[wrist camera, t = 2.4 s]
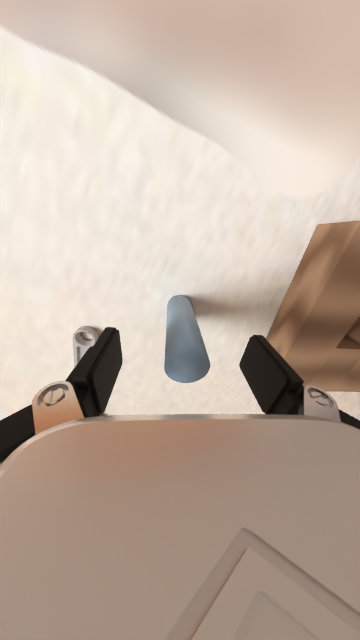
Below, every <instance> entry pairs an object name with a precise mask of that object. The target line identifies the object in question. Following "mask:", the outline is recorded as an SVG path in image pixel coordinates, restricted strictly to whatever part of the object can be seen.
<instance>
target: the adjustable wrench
mask: <svg viewBox="0 0 360 640" xmlns="http://www.w3.org/2000/svg"><path fill="white" fill-rule="evenodd" d="M81 332H87V333H89V334H90V335H91V336H92V337H93V339H92V340H85V339H84V338H83V337H82V336H81V334H80V333H81ZM97 340H98V333H97V331H96V330H95V329H93V328H91V327H88V326H83V327H80V328H79V329H78V330H77V331H76V332H75V333H74V334H73V348H74V368H75V367H76V365H77V364H78V362H79V361H80V360H81V358H82V357H83V355H84V354H85V353H86V351H87V350H88V348H89V347H91V346H94V344H95V343H96V341H97ZM100 416H103V415H101V414H100Z"/></svg>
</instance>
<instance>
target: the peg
mask: <svg viewBox="0 0 360 640" xmlns="http://www.w3.org/2000/svg"><path fill="white" fill-rule="evenodd" d="M209 368H210V361H209V358H208V355H207V352H206V349H205V345H204V342H203V339H202V336H201V333H200V329H199V326H198V323H197V320H196V317H195V313H194V310H193V307H192V304H191V301H190V300H189V299H188V298H187V297H186V296H183V295H177V296H174V297H172V298H171V299H170V300H169V302H168V307H167V328H166V348H165V372H166V374H167V375H168V377H169V378H171V379H172V380H174V381H177V382H181V383H190V382H195V381H197V380H199V379H201V378H203V377H204V376H205V375H206V374H207V373H208V371H209Z"/></svg>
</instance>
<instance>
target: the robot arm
mask: <svg viewBox="0 0 360 640" xmlns="http://www.w3.org/2000/svg"><path fill="white" fill-rule="evenodd" d="M121 365H122V351H121V343H120V335H119V330H116V328H112V327H106V328H105V330H104V331H103V332H102V334H101V335H100V337H99V338H98V340H97V341H96V343H95V344H94V346H91V347H89V348H88V350H87V351H86V353H85V354H84V355H83V357H82V358H81V360H80V361H79V362H78V364H77V365H76V367H75V368H74V369H73V371H72V372H71V374H70V375H69V376H68V378H67V379H66V381H58V382H54V383H51V384H49V385H47V386H45V387H44V388H42V389H41V390H40V391H39V392H38V393H37V394H36V395H35V396H34V398H33V400H32V404H31V405H29V406H28V407H26V408H24V409H22V410H20V411H18V412H16V413H14V414H12V415H10V416H8V417H6V418H4V419H2V420H1V421H0V640H360V421H359V420H358V419H355V418H354V417H352V416H350V415H348V414H347V413H345V412H343V411H341V410H339V409H338V405H337V403H336V401H335V400H334V399H333V398H332V397H331V396H330V395H329V394H328V393H326V392H325V391H324V390H322V389H320V388H318V387H315V386H311V385H309V386H306V387H304V386H303V385H302V384H303V383H304V381H303V380H302V378H301V377H300V376H299V375H298V374H297V373H296V372H295V371H294V370H293V369H292V367H291V366H290V365H289V364H288V363H287V362H286V361H285V360H284V359H283V357H282V356H281V355H280V354H279V353H278V352H277V351H276V350H275V349H274V347H273V346H272V345H271V344H270V343H269V342H268V341H267V340H266V339H265V337H264V336H262V335H253V336H252V337H250V339H249V342H248V344H247V347H246V349H245V352H244V354H243V356H242V359H241V361H240V369H241V371H242V373H243V375H244V376H245V378H246V380H247V382H248V384H249V386H250V388H251V390H252V392H253V394H254V396H255V398H256V400H257V402H258V404H259V405H260V407H261V409H262V411H263V412H264V413H265V414H177V415H111V416H100V414H101V413H104V411H105V409H106V406H107V403H108V401H109V398H110V395H111V392H112V390H113V387H114V384H115V382H116V379H117V376H118V373H119V371H120V368H121Z"/></svg>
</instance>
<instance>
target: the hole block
mask: <svg viewBox="0 0 360 640" xmlns="http://www.w3.org/2000/svg"><path fill="white" fill-rule="evenodd" d="M266 340H267V341H268V342H269V343H270V344H271V345H272V346H273V347H274V349H275V350H276V351H277V352H278V353H279V354H280V355H281V356H282V357H283V359H284V360H285V361H286V362H287V363H288V364H289V365H290V366H291V367H292V369H293V370H294V371H295V372H296V373H297V374H298V375H299V376H300V377H301V378H302V380H303V381H304V383H303V384H302V385H303V386H304V387H306V386H309V385H311V386H315V387H318V388H320V389H322V390H324V391H345V392H360V221H352V222H341V223H330V224H319V225H317V227H316V229H315V231H314V234H313V236H312V238H311V240H310V243H309V245H308V247H307V249H306V251H305V254H304V256H303V258H302V260H301V262H300V265H299V267H298V269H297V271H296V274H295V276H294V278H293V280H292V282H291V285H290V287H289V289H288V291H287V293H286V296H285V298H284V300H283V302H282V305H281V307H280V309H279V311H278V313H277V316H276V318H275V320H274V322H273V325H272V327H271V329H270V331H269V333H268V336H267V338H266Z"/></svg>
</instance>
